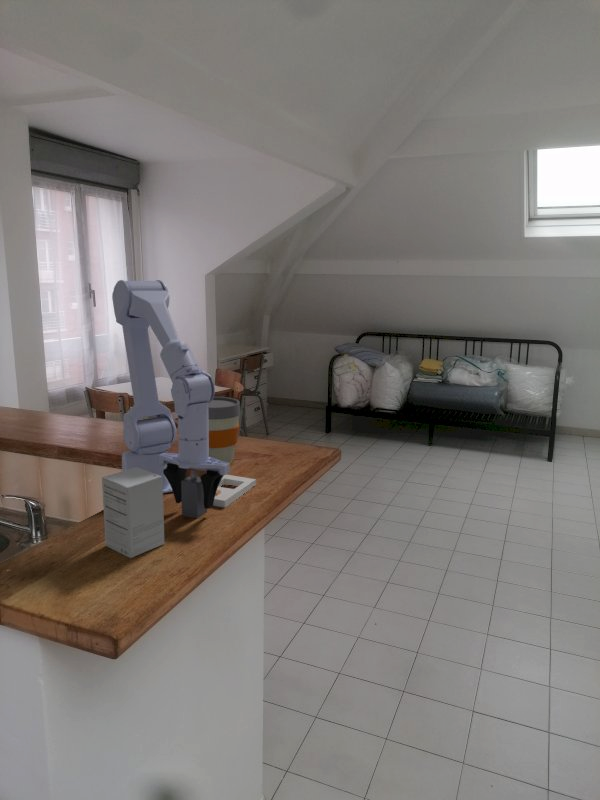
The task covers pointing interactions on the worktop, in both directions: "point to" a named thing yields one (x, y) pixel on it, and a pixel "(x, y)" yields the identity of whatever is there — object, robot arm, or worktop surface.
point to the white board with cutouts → (230, 495)
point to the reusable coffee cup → (223, 427)
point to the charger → (192, 496)
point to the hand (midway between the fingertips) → (194, 504)
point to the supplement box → (133, 511)
